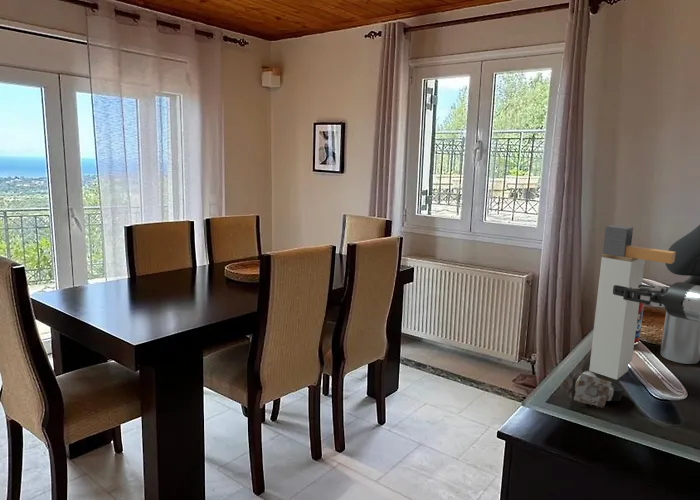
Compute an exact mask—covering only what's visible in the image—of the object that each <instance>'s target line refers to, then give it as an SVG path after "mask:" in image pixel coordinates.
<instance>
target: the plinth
mask: <svg viewBox="0 0 700 500" xmlns="http://www.w3.org/2000/svg"><path fill="white" fill-rule="evenodd" d="M645 263H646V260H643V259H637V258H631V257H620V256H614V255H608V254H603V253H602V254H601V260H600V269H599V277H598V286H597V297H596V306H595V315H594V325H593V333H592V340H591V341H592V343H591V351H590V362H589V369H588V371H591V372H593V373H594V374H598V375H601V376H605V377H608V378H610V379H613V380H619V379H620V378H621V377H622V376H624V375H625V374H626V373H628V372H629V371H628V364H629V363H630V362H631V361H632V362H633V355H634V347H635V346H634V341H635V333H636V325H637V318H638V310H639V302H634V301H629V300H625V299H623V296H618V295H614V294H613V286H614V285H619V286H624V287H632V288H638V286H639V285H640V284H643V277H644V269H645Z"/></svg>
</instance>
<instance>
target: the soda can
mask: <svg viewBox="0 0 700 500" xmlns="http://www.w3.org/2000/svg"><path fill="white" fill-rule="evenodd" d="M644 307H645V304H644V303H639V310H638V318H637V325H636V333H635V341H634V343H636V342H639V343H640V339H641V338H640V337H641V332H642V331H641V330H642V323H643V315H644Z"/></svg>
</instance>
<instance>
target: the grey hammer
mask: <svg viewBox="0 0 700 500" xmlns="http://www.w3.org/2000/svg"><path fill="white" fill-rule="evenodd" d="M604 230H605V231H604V238H603V239H604V241H603V249H602V254H608V255H614V256H620V257H631V258H637V259H643V260H645V261H648V262H649V261H650V262H657V263H661V264H663V263H664V264H665V263H668V264H672V263H674V261H675V254H676V252H674V251H668V250H667V249H661V248H660V249H658V248H652V247H651V248H650V247H644V246H640V245H639V246H638V245H632V240H633V233H634V232H633V231H634V227H633V226H627V225H619V224H610V225H607V226H605V229H604Z"/></svg>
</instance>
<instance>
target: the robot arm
mask: <svg viewBox="0 0 700 500" xmlns="http://www.w3.org/2000/svg"><path fill="white" fill-rule="evenodd" d="M667 251H674V252H676V254H675V261H674V263H672V264H668V263H664V264H665V266H666V269H667V270H668V271H669V272H670V273H671V274H673V275H677V276H683V277H684V276H685V277H686V276H689V278H687V279H686V280H684V281H682V282H681V281H678V282H675V283H673V284H671V285H670V286H669V287H668V286H663V285H657V286H652V285H649V284H648V285H647V284H643V283H642V284H640V285H639V286H638V288H632V287H624V286H619V285H614V286H613V294H614V295H618V296H623V299H625V300H629V301H634V302H639V303H644V305H646V306H647V305H653V306H657V307H662V305H663V306H664V308H665V310H666V311H665V318H664V324H663V331H662V332H663V333H662V338H661V339H662V340H661V344H660V353H659V354H660V356H661V357H662V358H664V359H666V360H668V361H672V362H674V363H679V364H685V365H686V364H687V365H693V364H698V363H699V361H700V224H699V225H698V226H696V227H695V228H694V229H693V230H691V231H690V232H689V233H687V234H686V235H684V236H682V237H681V238H679V239H678V240H676V241H675V242H674V243H672V244H671V245H670V247H669V248H668V250H667Z"/></svg>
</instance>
